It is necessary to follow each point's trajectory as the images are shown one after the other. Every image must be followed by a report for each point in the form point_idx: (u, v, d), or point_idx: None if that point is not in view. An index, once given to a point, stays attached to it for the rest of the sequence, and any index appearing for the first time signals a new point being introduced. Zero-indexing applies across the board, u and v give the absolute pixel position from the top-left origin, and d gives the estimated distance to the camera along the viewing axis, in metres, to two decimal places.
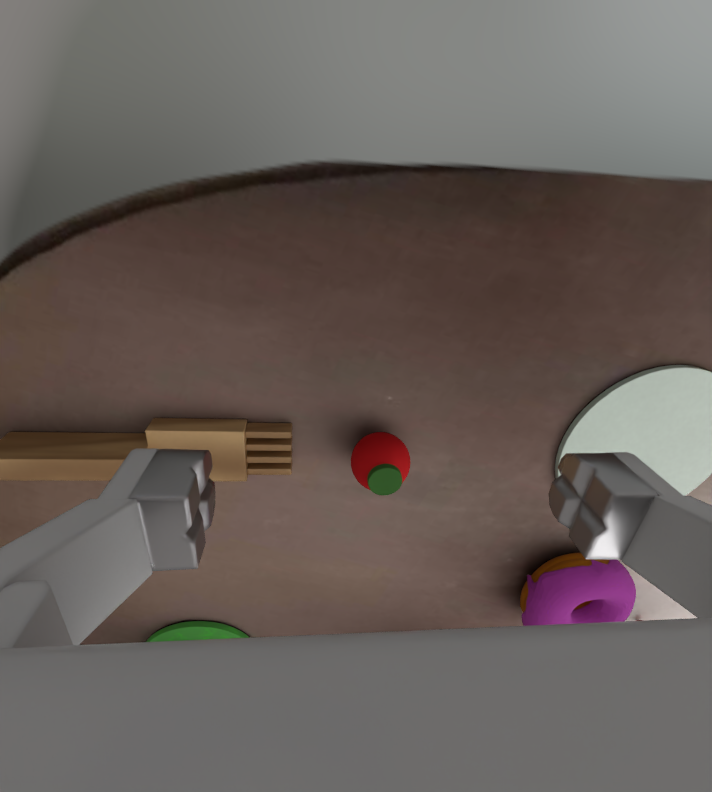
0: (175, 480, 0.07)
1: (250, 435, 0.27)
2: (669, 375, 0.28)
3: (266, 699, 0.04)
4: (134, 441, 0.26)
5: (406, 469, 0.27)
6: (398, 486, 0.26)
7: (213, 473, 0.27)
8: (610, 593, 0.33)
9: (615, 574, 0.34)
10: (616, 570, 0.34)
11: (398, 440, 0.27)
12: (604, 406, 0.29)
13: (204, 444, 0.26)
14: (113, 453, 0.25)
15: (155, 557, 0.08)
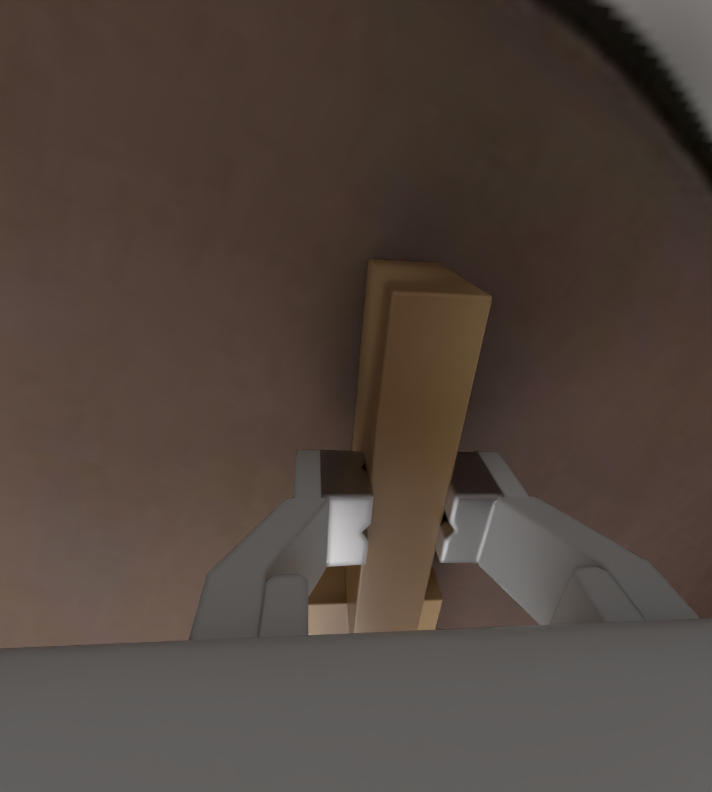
0: (354, 480, 0.08)
1: None
2: None
3: (266, 700, 0.04)
4: None
5: None
6: None
7: None
8: None
9: None
10: None
11: None
12: None
13: None
14: None
15: (331, 553, 0.08)
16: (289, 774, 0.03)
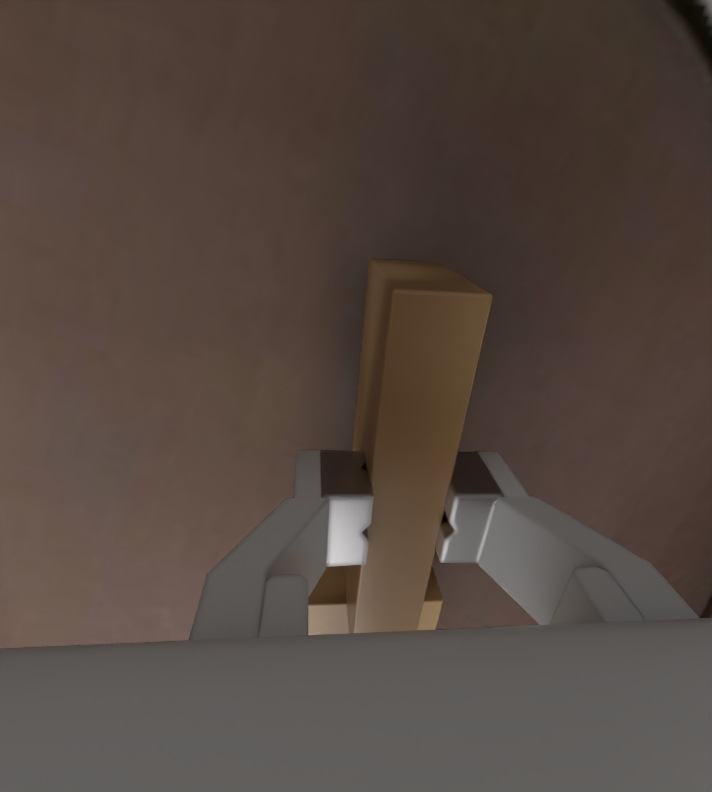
0: (354, 480, 0.08)
1: None
2: None
3: (266, 700, 0.04)
4: None
5: None
6: None
7: None
8: None
9: None
10: None
11: None
12: None
13: None
14: None
15: (331, 553, 0.08)
16: (289, 774, 0.03)
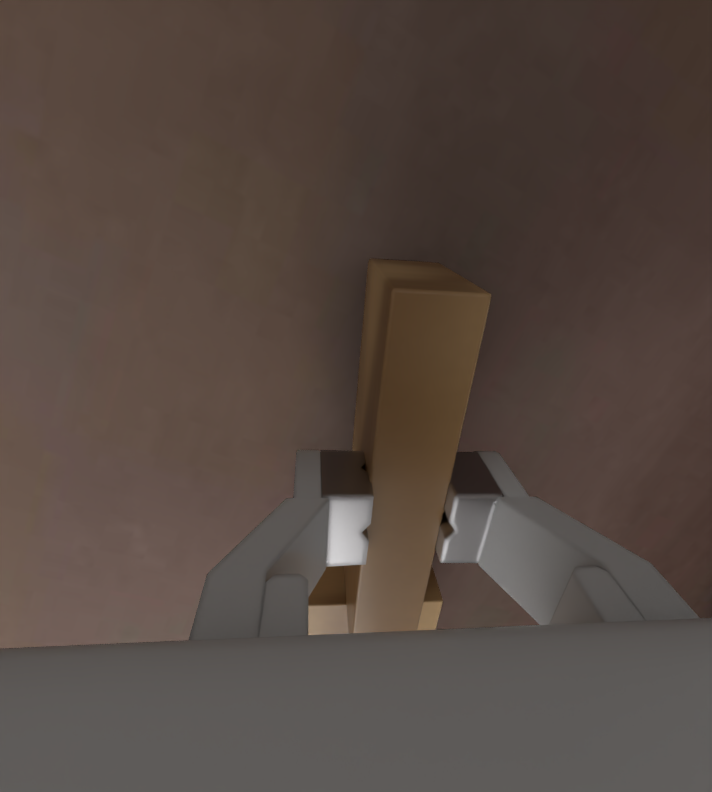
0: (354, 480, 0.08)
1: None
2: None
3: (266, 700, 0.04)
4: None
5: None
6: None
7: None
8: None
9: None
10: None
11: None
12: None
13: None
14: None
15: (331, 553, 0.08)
16: (289, 774, 0.03)
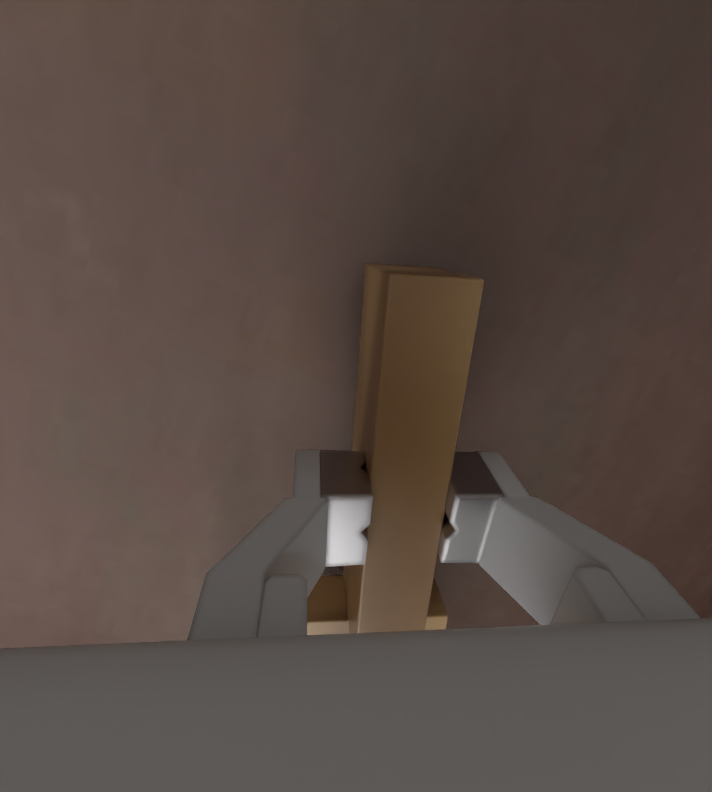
0: (353, 480, 0.08)
1: None
2: None
3: (266, 700, 0.04)
4: None
5: None
6: None
7: None
8: None
9: None
10: None
11: None
12: None
13: None
14: None
15: (330, 553, 0.08)
16: (289, 774, 0.03)
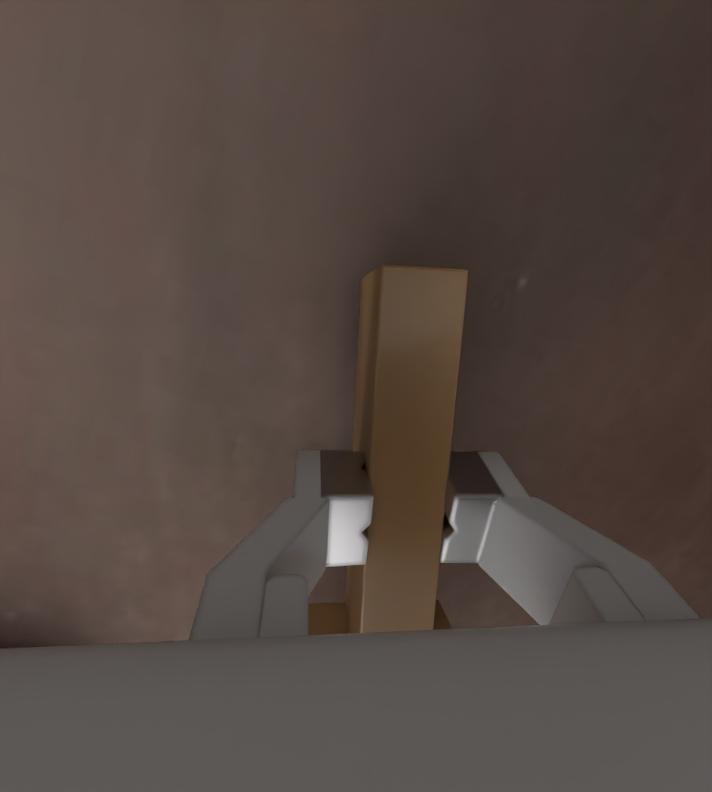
0: (354, 480, 0.08)
1: None
2: None
3: (266, 699, 0.04)
4: None
5: None
6: None
7: None
8: None
9: None
10: None
11: None
12: None
13: None
14: None
15: (331, 553, 0.08)
16: (289, 774, 0.03)
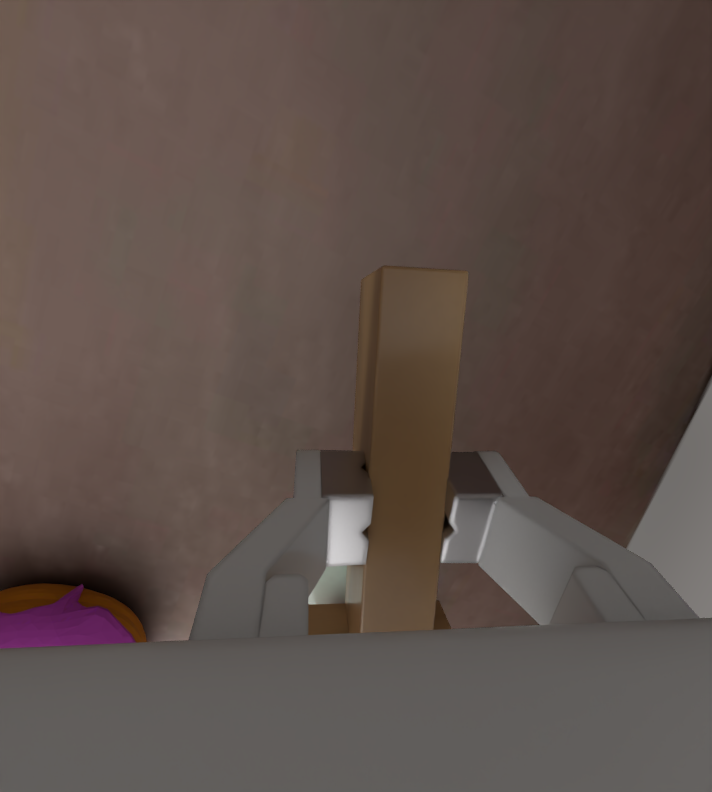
0: (354, 480, 0.08)
1: None
2: None
3: (266, 699, 0.04)
4: None
5: None
6: None
7: None
8: None
9: None
10: None
11: None
12: None
13: None
14: None
15: (331, 553, 0.08)
16: (289, 774, 0.03)
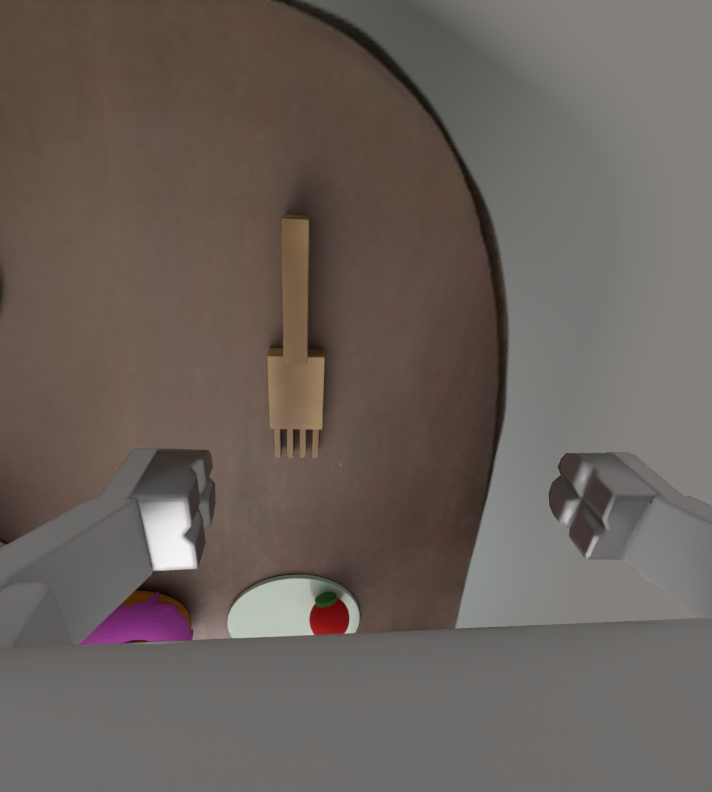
0: (175, 480, 0.07)
1: (314, 430, 0.32)
2: (354, 614, 0.44)
3: (266, 700, 0.04)
4: None
5: (341, 600, 0.41)
6: (334, 596, 0.40)
7: (278, 404, 0.30)
8: None
9: None
10: None
11: None
12: (332, 590, 0.42)
13: (309, 400, 0.30)
14: None
15: (155, 557, 0.08)
16: (289, 774, 0.03)
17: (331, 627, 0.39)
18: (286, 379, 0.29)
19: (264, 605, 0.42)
